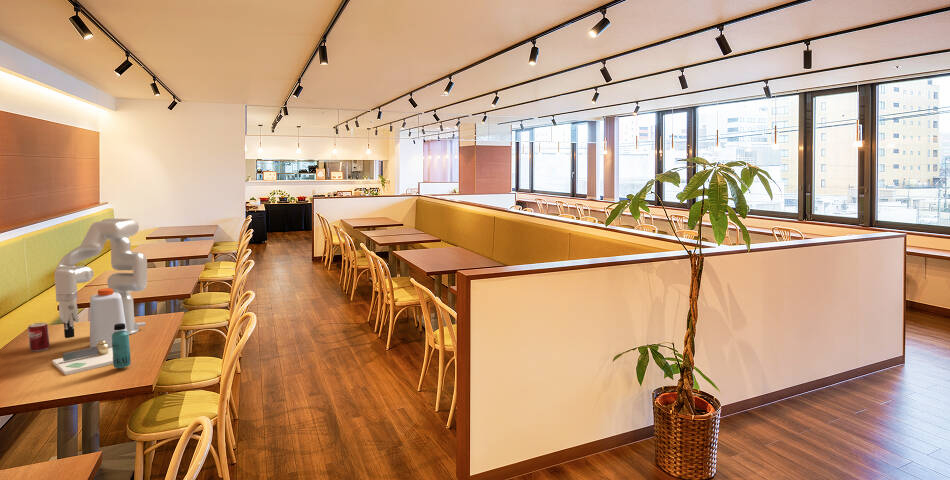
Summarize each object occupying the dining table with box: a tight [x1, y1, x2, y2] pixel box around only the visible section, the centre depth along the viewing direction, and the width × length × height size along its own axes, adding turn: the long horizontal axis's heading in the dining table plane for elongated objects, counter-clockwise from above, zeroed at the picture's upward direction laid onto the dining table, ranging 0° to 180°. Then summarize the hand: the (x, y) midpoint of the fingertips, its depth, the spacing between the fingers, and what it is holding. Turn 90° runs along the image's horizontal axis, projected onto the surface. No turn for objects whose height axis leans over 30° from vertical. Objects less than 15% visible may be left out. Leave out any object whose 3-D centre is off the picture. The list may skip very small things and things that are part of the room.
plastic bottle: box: [89, 288, 127, 348], centre depth 256 cm, size 15×15×28 cm
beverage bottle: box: [112, 323, 132, 369], centre depth 229 cm, size 6×7×20 cm
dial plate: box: [51, 347, 114, 376], centre depth 237 cm, size 23×20×2 cm
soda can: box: [27, 322, 51, 352], centre depth 251 cm, size 7×7×12 cm
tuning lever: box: [62, 340, 108, 361], centre depth 238 cm, size 17×4×6 cm, turn 140°
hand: (69, 337), depth 237 cm, fingers closed
